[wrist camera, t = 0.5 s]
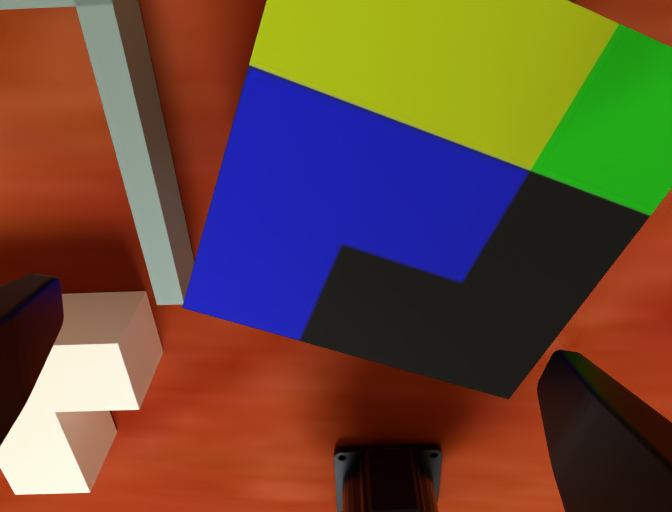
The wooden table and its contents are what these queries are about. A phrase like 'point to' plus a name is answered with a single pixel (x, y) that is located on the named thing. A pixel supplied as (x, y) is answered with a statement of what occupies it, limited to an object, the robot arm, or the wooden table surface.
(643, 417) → the robot arm
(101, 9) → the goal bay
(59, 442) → the t block
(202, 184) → the wooden table surface
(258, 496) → the wooden table surface
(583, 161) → the puzzle toy
